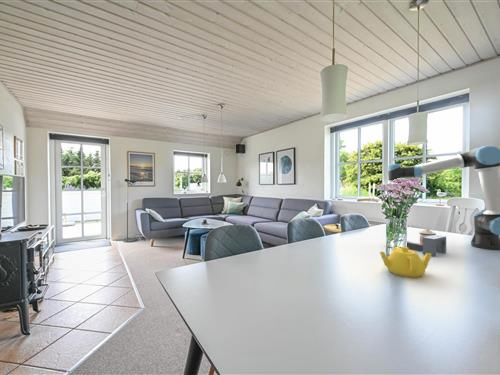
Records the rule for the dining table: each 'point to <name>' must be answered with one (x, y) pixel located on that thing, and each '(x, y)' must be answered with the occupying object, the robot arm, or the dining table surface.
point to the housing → (434, 244)
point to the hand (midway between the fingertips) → (395, 217)
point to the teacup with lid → (425, 234)
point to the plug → (415, 246)
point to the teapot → (406, 262)
